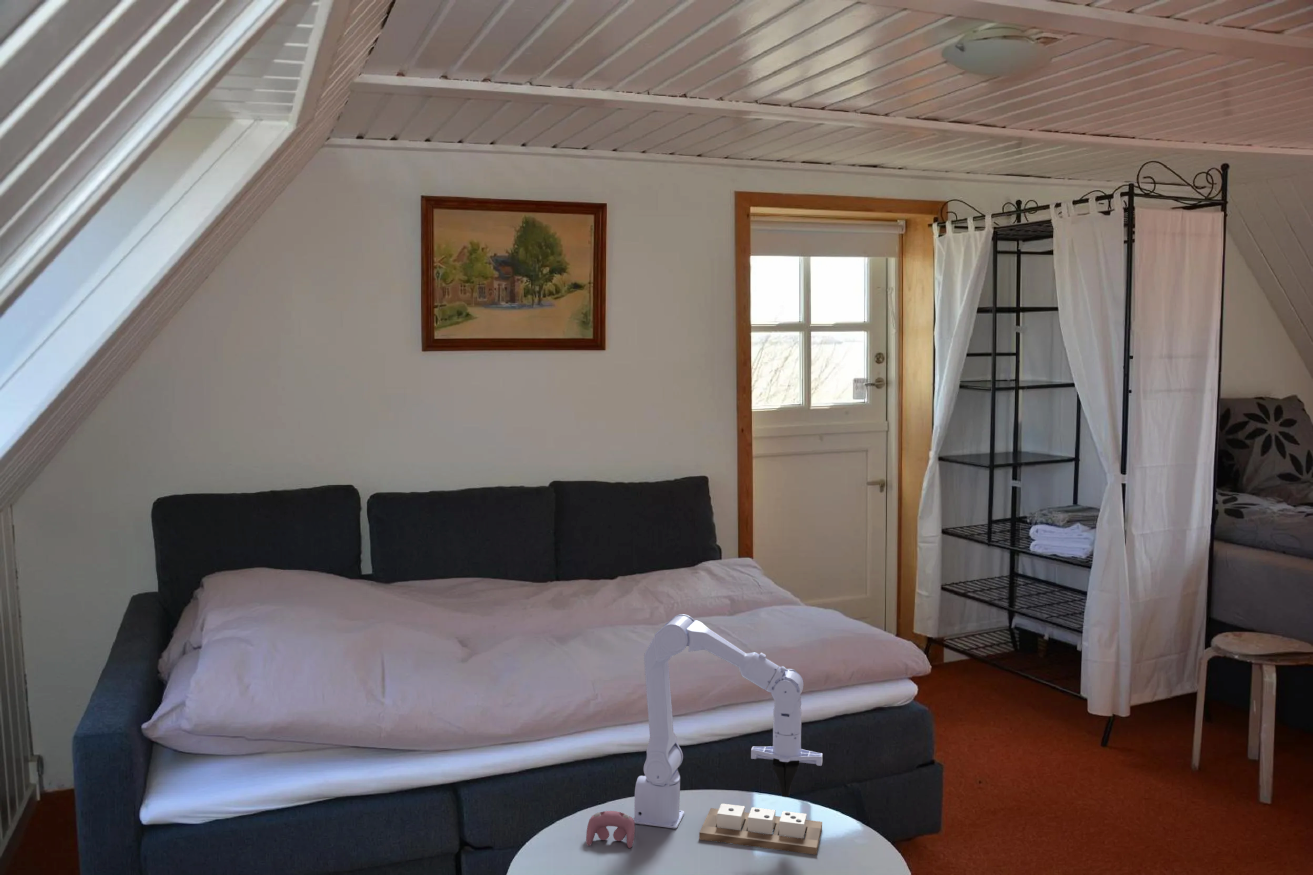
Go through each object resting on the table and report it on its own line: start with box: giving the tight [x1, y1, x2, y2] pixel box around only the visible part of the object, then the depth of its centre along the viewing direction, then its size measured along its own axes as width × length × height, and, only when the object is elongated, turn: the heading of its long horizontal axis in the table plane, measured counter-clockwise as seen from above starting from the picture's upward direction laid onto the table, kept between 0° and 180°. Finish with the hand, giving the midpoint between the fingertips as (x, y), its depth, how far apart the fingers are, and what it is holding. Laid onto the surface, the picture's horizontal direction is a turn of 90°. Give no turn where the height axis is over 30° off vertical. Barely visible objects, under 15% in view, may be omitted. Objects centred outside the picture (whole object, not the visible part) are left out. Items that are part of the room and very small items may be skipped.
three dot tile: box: [779, 810, 807, 839], centre depth 219 cm, size 5×5×3 cm
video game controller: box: [585, 810, 636, 849], centre depth 217 cm, size 10×5×7 cm, turn 85°
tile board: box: [698, 807, 823, 856], centre depth 221 cm, size 24×12×2 cm, turn 76°
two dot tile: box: [748, 806, 776, 835], centre depth 221 cm, size 5×5×3 cm
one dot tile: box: [717, 803, 746, 831], centre depth 223 cm, size 5×5×3 cm
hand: (785, 794), depth 219 cm, fingers closed
